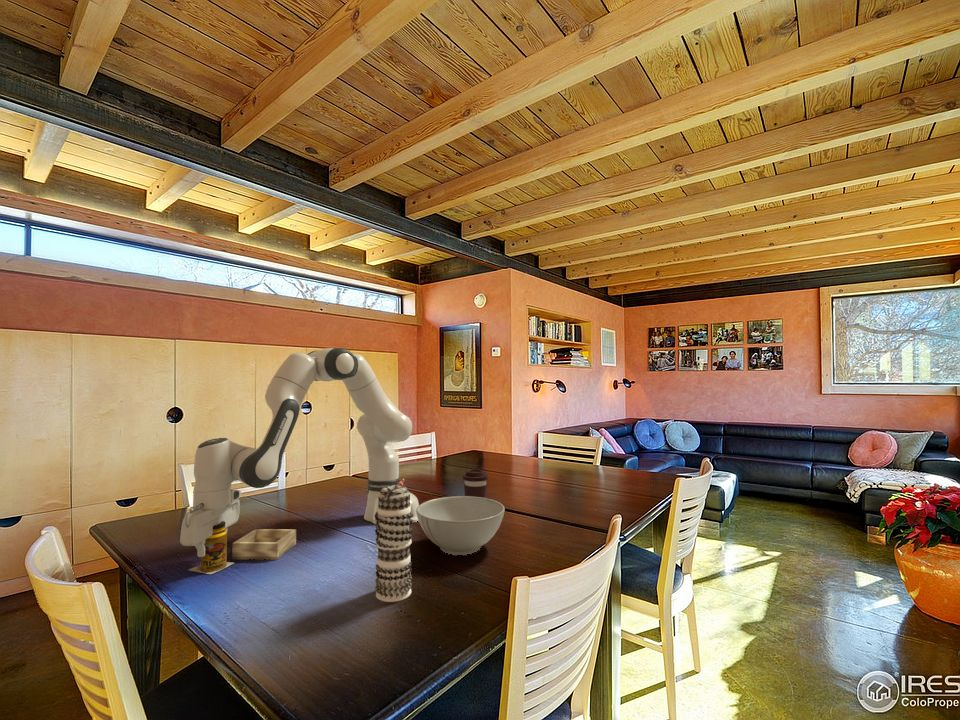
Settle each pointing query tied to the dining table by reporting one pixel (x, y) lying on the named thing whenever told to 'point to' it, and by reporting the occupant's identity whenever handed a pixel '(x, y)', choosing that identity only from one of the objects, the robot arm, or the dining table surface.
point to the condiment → (215, 551)
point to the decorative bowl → (460, 522)
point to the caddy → (264, 544)
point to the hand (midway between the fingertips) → (211, 550)
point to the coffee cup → (475, 483)
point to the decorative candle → (393, 544)
